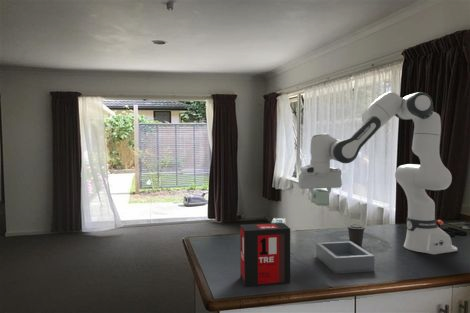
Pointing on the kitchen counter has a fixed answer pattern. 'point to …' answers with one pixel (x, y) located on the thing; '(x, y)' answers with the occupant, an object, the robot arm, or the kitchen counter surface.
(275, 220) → the light bulb box
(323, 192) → the small crate
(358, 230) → the coffee cup
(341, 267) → the large crate
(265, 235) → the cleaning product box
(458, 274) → the kitchen counter surface
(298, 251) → the kitchen counter surface
